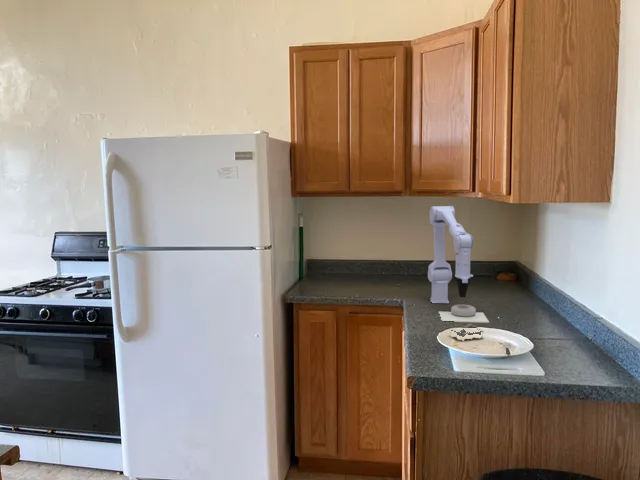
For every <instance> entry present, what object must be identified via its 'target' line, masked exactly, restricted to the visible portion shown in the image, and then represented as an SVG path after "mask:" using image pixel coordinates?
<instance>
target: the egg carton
mask: <svg viewBox="0 0 640 480" xmlns="http://www.w3.org/2000/svg"><path fill="white" fill-rule="evenodd" d="M460 328H477V329H478V331H479V330H481V329H480V328H478V327H477V326H476V325H474V323H472V322H471V323H467V324H465V325H464V326H461V327H460ZM450 330H451V329H450ZM451 331H453V329H452V330H451ZM454 332H456V331H454ZM460 332H461V333H460ZM460 332H456V333H457V335H459V336H462V337H464V336H465V335H466V334H468V335H473V334H479V335H481V332H482V333H484V331H483V330H481V331H480V332H475V333H474V332H473V333H470V332H469V333H468V332H467V333H466V331H465V330H464V329H463V330H461V331H460Z"/></svg>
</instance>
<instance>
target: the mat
mask: <svg viewBox="0 0 640 480" xmlns="http://www.w3.org/2000/svg"><path fill="white" fill-rule="evenodd" d="M439 314H440V315H439ZM438 315H439V318H440V317H441V318H440V321H441V320H442V321H454V322H453V323H471V324H472V323H473V324H474V323H475V324H476V323H477V324H479V323H481V324H489V323H490V321H489V319H488V318H487V316H486V315H485V313H484V312H479V311H478V312H477V311H476V313H475V314H474V315H473V316H468V317H463V316H457V315H454V314H453V313H452V312H451V311H438ZM442 321H441V322H442Z"/></svg>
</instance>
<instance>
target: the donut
mask: <svg viewBox="0 0 640 480" xmlns="http://www.w3.org/2000/svg"><path fill="white" fill-rule="evenodd" d="M450 312H452V313H453V314H454V315H457V316H463V317H468V316H473V315H474V314H475V313H476V312H477V309H476V307H474V306H473V305H470V304H461V303H460V304H454V305H452V306H451V309H450Z"/></svg>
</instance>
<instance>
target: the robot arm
mask: <svg viewBox="0 0 640 480" xmlns="http://www.w3.org/2000/svg"><path fill="white" fill-rule="evenodd" d="M428 214H429V224H430V225H432V229H433V230H432V232H433V257H434V259H433V260H434V261H432V262H431V263H430V264H428V269H427V279H428V280H429V282H430V283H431V297H429V300H430V303H431V302H432V303H431V304H450V301H449V299H448V298H449V297H448V295H449V294H448V290H449V289H448V288H449V286H448V285H449V283H450V282H451V280H452V278H453V272H452V268H451V267H452V266H451V264H450V263H448V262H447V261H446V241H445V238H446V237H445V236H446V235H445V227H446V225H447V227H448V233H449V234H450V236H451V238H452V239H453V241H452V242H453V247H454V253H455V273H454V277H456V278H455V279H454V281H455V282H456V285H457V291H458V295H459V298H466V296H467V291H468V288H469V286H470V283H471V280H470V278H473V277H474V275H473V274H471V253H472V252H471V249H472V248H473V246H474V238H473V235H472V234H470V233H469V232H466V230H465V229H464V226H463V225H462V224H460V223H458V221H457V220H456V217H455V216H456V215H455V214H456V210H455V207H454V206H453V205H448V206H447V205H446V206H444V205H440V206H435V205H433V206H431V207H430V210H429V213H428Z"/></svg>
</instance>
